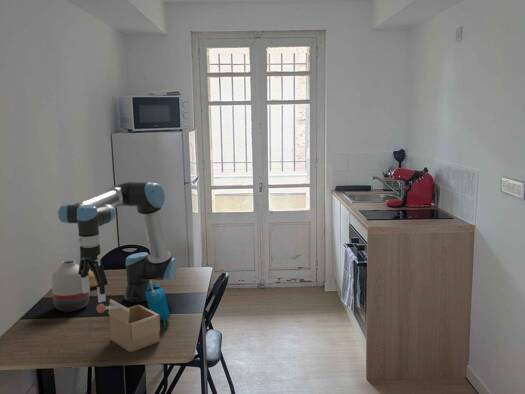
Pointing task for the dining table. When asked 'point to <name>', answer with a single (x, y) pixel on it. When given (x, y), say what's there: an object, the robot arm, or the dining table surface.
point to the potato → (92, 279)
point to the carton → (136, 329)
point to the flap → (115, 311)
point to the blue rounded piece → (157, 301)
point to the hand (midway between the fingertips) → (94, 296)
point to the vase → (68, 288)
